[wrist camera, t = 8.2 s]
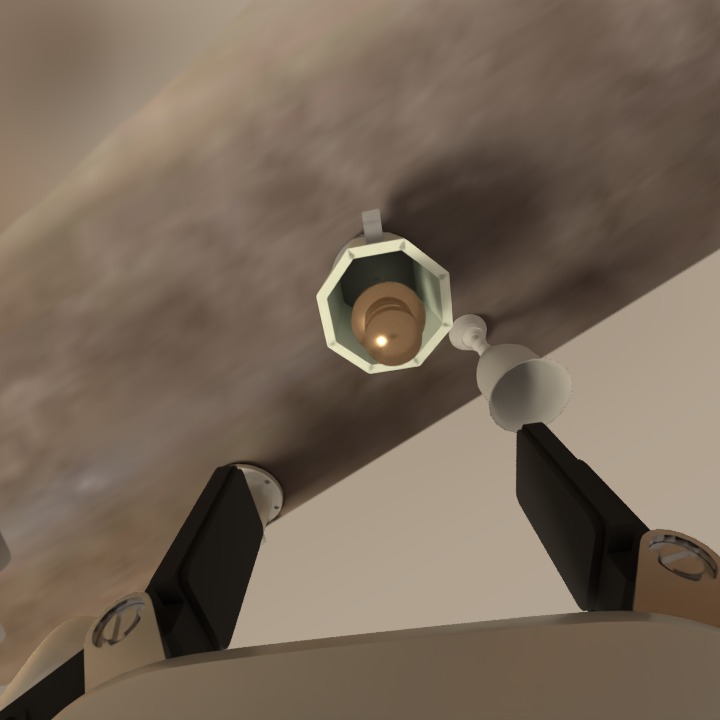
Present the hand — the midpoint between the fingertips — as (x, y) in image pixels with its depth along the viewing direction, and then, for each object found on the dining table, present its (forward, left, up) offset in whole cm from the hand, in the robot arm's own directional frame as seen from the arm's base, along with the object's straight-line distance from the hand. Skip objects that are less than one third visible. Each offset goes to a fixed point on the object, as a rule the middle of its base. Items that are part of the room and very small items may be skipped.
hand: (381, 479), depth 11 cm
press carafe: (+1, -2, -34) cm, 34 cm away
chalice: (-8, -13, -35) cm, 38 cm away
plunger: (+1, -2, -32) cm, 32 cm away
